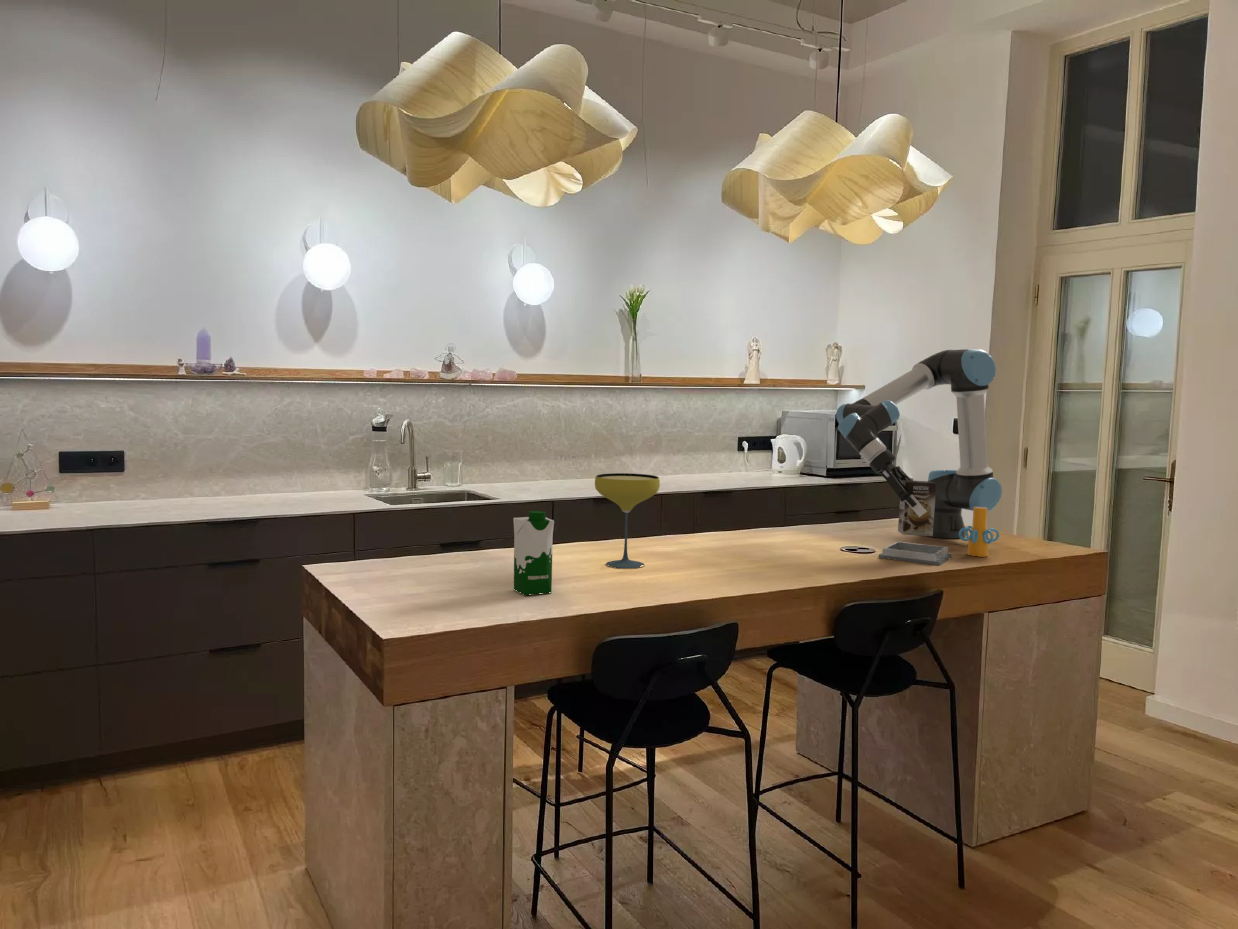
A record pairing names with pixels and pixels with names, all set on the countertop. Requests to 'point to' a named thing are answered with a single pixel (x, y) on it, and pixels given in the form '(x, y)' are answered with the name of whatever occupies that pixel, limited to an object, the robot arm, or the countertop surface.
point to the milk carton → (533, 553)
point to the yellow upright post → (978, 534)
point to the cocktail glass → (626, 500)
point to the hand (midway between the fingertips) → (927, 512)
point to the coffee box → (908, 518)
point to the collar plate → (916, 553)
